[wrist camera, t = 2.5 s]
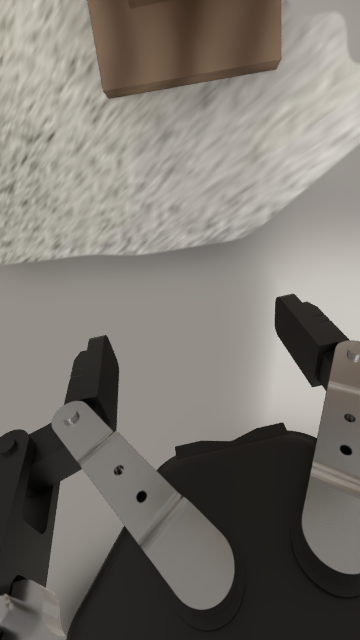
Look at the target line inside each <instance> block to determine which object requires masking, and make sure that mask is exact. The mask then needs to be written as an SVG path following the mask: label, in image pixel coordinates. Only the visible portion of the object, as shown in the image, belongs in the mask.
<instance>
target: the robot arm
mask: <svg viewBox="0 0 360 640" xmlns="http://www.w3.org/2000/svg"><path fill="white" fill-rule="evenodd" d="M275 329H276V332H277V335H278V337H279V338H280V340H281V341H282V343H283V344H284V346H285V347H286V349H287V350H288V352H289V353H290V354H291V356H292V358H293V359H294V361H295V362H296V363H297V365H298V367H299V368H300V369H301V371H302V373H303V374H304V375H305V377H306V378H307V380H308V382H309V383H310V385H311V386H312V387H316V386H320V385H322V386H323V387H324V389H325V390H326V396H325V401H324V406H323V411H322V416H321V421H320V426H319V431H318V436H317V438H315V437H313V436H310V435H308V434H305V433H301V432H296V431H287V430H286V428H285V425H284V423H279V424H274V425H269V426H265V427H261V428H256V429H255V430H252V431H251V432H249V433H247V434H245V435H243V436H241V437H239V438H237V439H235V440H233V441H199V442H194V443H190V444H185V445H181V446H176V447H175V451H176V456H174V457H172V458H170V459H169V460H168V461H166V462H165V463H164V464H163V465H161V466H160V467H159V468H158V469H157V471H156V470H155V469H154V468H153V467H152V466H151V465H150V464H149V463H148V462H147V461H146V460H145V459H144V458H143V457H142V456H141V455H140V454H139V453H138V452H137V451H136V450H135V449H134V448H133V447H132V446H131V445H130V444H129V443H128V442H127V440H126V439H124V437H123V436H122V435H121V434H120V433H118V432H117V431H116V425H117V404H118V382H119V366H118V362H117V359H116V356H115V354H114V351H113V349H112V346H111V344H110V342H109V339H108V337H107V336H106V335H105V336H100V337H95V338H91V339H89V343H88V348H87V351H82V352H80V353H79V355H78V356H77V357H76V359H75V360H74V364H73V368H72V372H71V379H70V381H69V385H68V390H67V394H66V399H65V403H64V406H62V407H61V408H60V409H59V410H58V411H57V412H56V413H55V415H54V416H53V419H52V422H51V423H50V424H48V425H47V426H45V427H43V428H41V429H39V430H37V431H35V432H33V433H31V434H29V435H28V433H27V432H26V431H24V430H13V431H10V432H8V433H6V434H4V435H3V436H2V437H0V640H360V342H359V341H350V340H349V339H348V338H347V337H346V336H345V335H344V334H343V333H342V332H341V331H340V330H339V329H338V328H337V327H336V326H335V325H334V324H333V323H332V321H330V320H329V318H328V317H326V315H324V314H323V312H322V311H321V310H320V309H319V308H318V307H317V306H315V305H313V304H310V303H308V302H304V303H302V302H301V301H300V300H299V299H298V297H296V295H295V294H290V295H285V296H281V297H277V298H276V302H275ZM81 469H83V470H84V472H85V473H86V474H87V476H88V477H89V478H90V480H91V481H92V482H93V484H94V485H95V486H96V488H97V489H98V490H99V492H100V493H101V494H102V496H103V497H104V498H105V500H106V501H107V503H109V505H110V506H111V508H112V509H113V511H114V512H115V513H116V515H117V516H118V517H119V519H120V520H121V521H122V523H123V524H124V527H123V529H122V531H121V532H120V534H119V536H118V538H117V540H116V542H115V543H114V545H113V547H112V549H111V550H110V552H109V554H108V556H107V558H106V559H105V561H104V563H103V565H102V567H101V569H100V570H99V572H98V574H97V576H96V577H95V579H94V581H93V583H92V585H91V587H90V588H89V590H88V592H87V594H86V595H85V597H84V599H83V601H82V603H81V604H80V606H79V608H78V610H77V612H76V614H75V616H74V618H73V620H72V623H71V625H70V628H69V631H68V634H67V636H65V634H64V632H63V631H62V628H61V624H60V607H59V601H58V598H57V597H56V595H55V594H54V593H53V592H52V591H50V590H49V589H47V588H46V582H47V575H48V567H49V560H50V552H51V545H52V537H53V530H54V523H55V515H56V509H57V501H58V494H59V486H60V481H62V480H63V479H65V478H67V477H69V476H70V475H72V474H74V473H76V472H78V471H79V470H81Z"/></svg>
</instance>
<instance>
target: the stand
mask: <svg viewBox="0 0 360 640" xmlns="http://www.w3.org/2000/svg"><path fill="white" fill-rule="evenodd" d="M87 1H88V7H89V13H90V19H91V24H92V30H93V36H94V42H95V47H96V53H97V59H98V65H99V70H100V76H101V82H102V88H103V92H104V93H105V94H106V95H107V97H108V98H114V97H120V96H126V95H132V94H137V93H143V92H149V91H154V90H160V89H166V88H171V87H177V86H183V85H189V84H194V83H200V82H206V81H211V80H217V79H223V78H228V77H234V76H240V75H246V74H251V73H257V72H263V71H268V70H274V69H276V68H277V67H278V65H279V63H280V61H281V0H87Z"/></svg>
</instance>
